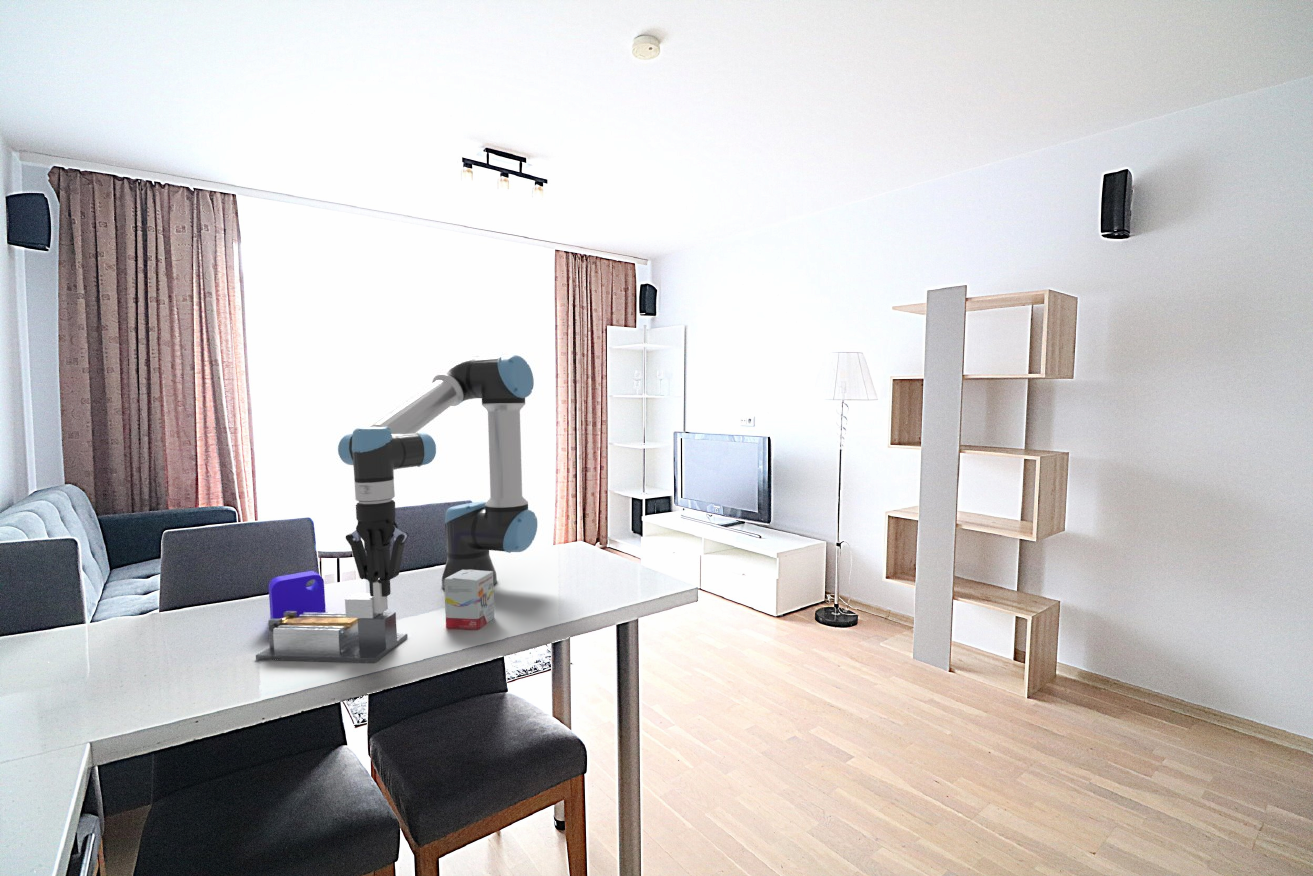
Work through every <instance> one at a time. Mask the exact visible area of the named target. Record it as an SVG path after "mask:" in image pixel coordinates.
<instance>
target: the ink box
mask: <svg viewBox="0 0 1313 876" xmlns="http://www.w3.org/2000/svg"><path fill="white" fill-rule="evenodd" d="M444 585H445V589H444V604H445V613H444V614H445V628H446V629H453V630H454V629H456V630H477V631H478V630H480V629H481V628H482V627H484V626H485V625H487V623H489V622H491V621H492V620H493V619H495V603H494V602H495V601H494V600H495V599H494V597H495V596H494V595H495V594H494V584H493V571H480V570H461V571H459V572H457V573H455V574H453V575H451V576H449V577H447V578H445V580H444Z"/></svg>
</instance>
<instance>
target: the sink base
mask: <svg viewBox="0 0 1313 876" xmlns="http://www.w3.org/2000/svg"><path fill="white" fill-rule="evenodd" d="M396 615H397V613H396V611H384V612H383V613H381V614H379V615H378V616H376V617H374V618H358V619H357V620H358V623H357V624H356V625H354V626H352V627H342V626H289V625H282V619H271V618H270V619H268V621H267V622H268V635H269V638H268V639H269V647H268V648H266V649H264V650H262V651H261V652H259V653H257V654H255V660H257V661H283V662H285V661H288V662H292V661H293V662H322V663H323V662H327V663H330V662H331V663H362V664H363V663H364V664H365V663H366V664H369V663H370V664H375V663H377V662H379V661H380V660H381V659H382V658H383V657H384V656H386V655H387V654H388V653H390V652H391V651H392V650H394V649H395V648H396V647H397V646H399V645H400V644H401V643H403V642H404V641H405V640H407V639H408V633H403V632H402V633H397V631H398V629H397V616H396ZM286 616H290V617H291V618H297V611H286V612H284V617H286ZM299 618H346V612H326V613H303V615H299Z"/></svg>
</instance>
